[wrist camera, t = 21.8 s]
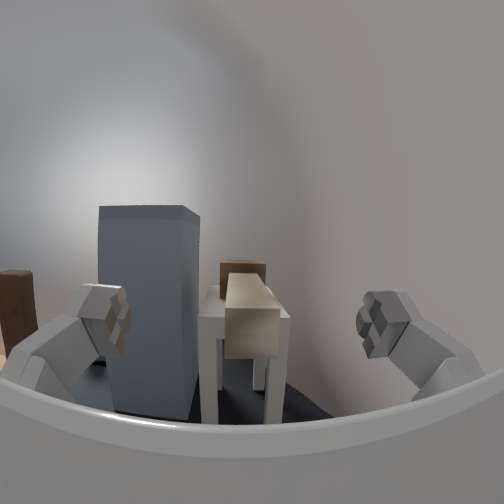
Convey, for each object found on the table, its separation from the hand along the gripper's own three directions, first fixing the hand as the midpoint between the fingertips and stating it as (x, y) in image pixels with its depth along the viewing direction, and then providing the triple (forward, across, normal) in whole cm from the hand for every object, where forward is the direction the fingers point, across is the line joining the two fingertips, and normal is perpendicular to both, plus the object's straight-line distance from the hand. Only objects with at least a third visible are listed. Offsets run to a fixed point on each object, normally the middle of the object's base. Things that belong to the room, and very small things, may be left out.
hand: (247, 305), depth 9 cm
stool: (+9, -1, +29) cm, 31 cm away
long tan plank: (+12, -1, +12) cm, 17 cm away
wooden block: (+4, +28, +26) cm, 39 cm away
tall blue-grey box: (+14, +11, +32) cm, 37 cm away
